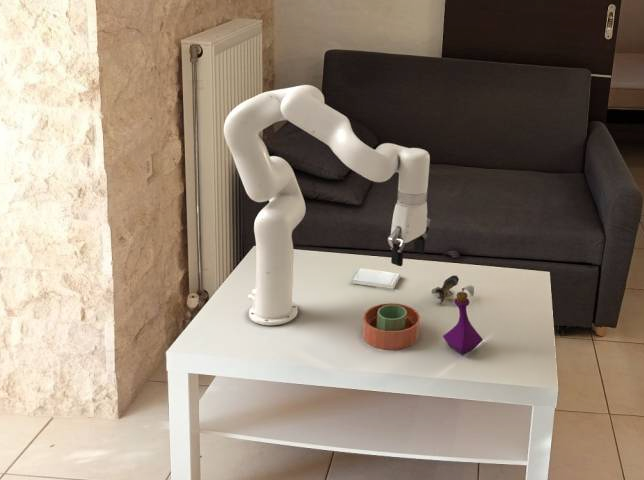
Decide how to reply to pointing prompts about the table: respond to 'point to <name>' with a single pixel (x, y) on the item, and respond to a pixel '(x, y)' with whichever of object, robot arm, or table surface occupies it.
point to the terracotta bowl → (390, 338)
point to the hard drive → (376, 278)
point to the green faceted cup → (391, 318)
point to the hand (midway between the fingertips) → (408, 258)
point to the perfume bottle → (463, 327)
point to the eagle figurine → (446, 288)
